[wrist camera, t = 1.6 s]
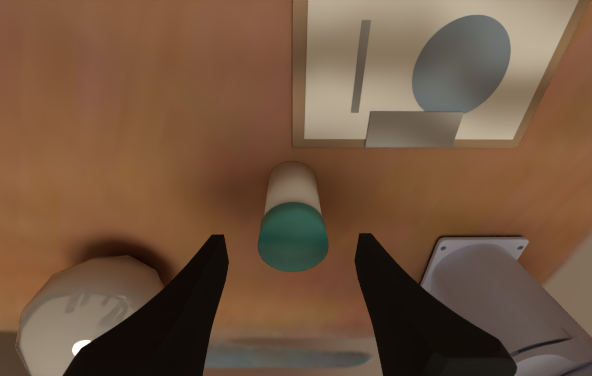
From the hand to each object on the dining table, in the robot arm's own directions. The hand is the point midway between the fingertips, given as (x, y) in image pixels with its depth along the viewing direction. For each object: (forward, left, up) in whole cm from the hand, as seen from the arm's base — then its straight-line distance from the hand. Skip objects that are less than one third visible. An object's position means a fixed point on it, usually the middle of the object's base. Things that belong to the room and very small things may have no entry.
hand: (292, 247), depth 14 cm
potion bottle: (-13, +16, -7) cm, 22 cm away
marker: (0, 0, -7) cm, 7 cm away
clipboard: (+8, -8, -7) cm, 13 cm away
